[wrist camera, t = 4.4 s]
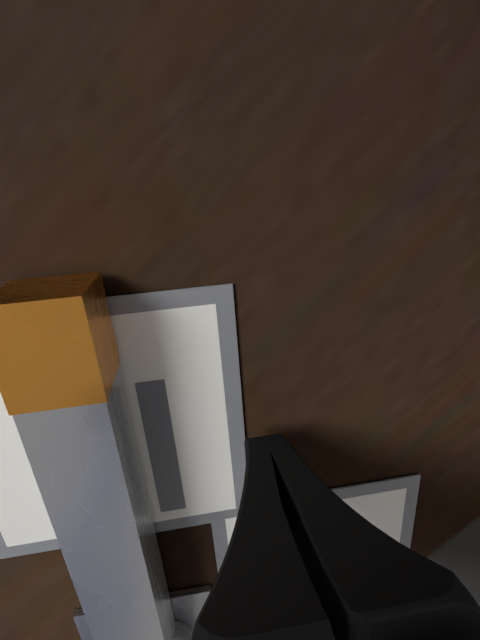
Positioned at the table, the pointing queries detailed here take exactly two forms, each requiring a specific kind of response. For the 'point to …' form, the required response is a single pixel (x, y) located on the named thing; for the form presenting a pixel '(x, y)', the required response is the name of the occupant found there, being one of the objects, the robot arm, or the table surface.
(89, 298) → the orange-tipped grey bar
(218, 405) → the label
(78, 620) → the pivot base
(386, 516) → the label
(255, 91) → the table surface
